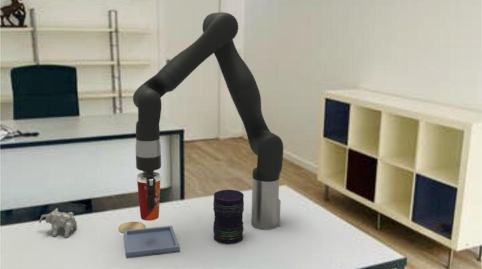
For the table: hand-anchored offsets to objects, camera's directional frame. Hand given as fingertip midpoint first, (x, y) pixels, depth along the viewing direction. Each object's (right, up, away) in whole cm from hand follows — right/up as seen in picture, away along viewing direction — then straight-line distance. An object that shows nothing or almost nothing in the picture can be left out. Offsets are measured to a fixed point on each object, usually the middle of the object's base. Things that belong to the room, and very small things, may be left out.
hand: (149, 204), depth 149 cm
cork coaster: (-9, -10, +14) cm, 19 cm away
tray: (0, -13, +3) cm, 13 cm away
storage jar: (+24, -12, +8) cm, 28 cm away
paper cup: (0, -4, +1) cm, 4 cm away
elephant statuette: (-32, -11, +9) cm, 35 cm away
